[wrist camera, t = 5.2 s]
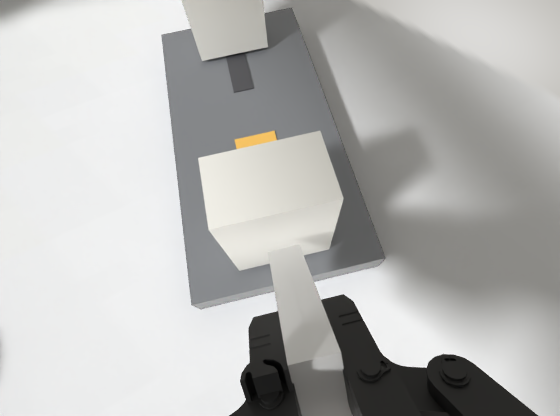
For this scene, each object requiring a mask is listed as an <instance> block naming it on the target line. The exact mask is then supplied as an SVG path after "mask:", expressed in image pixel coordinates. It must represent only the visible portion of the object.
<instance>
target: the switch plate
mask: <svg viewBox="0 0 560 416" xmlns="http://www.w3.org/2000/svg"><path fill="white" fill-rule="evenodd" d="M264 15H265V24H266V33H267V43H268V47H266V48H261V49H256V50H252V51H247V52H242V53H237V54H233V55H228V56H223V57H219V58H214V59H209V60H204V61H202V59H201V56H200V54H199V51H198V48H197V45H196V42H195V39H194V36H193V33H192V30H191V29H187V30H182V31H178V32H173V33H168V34H163V35H162V44H163V53H164V62H165V71H166V80H167V89H168V98H169V107H170V116H171V125H172V134H173V143H174V152H175V161H176V170H177V179H178V188H179V197H180V206H181V215H182V224H183V233H184V242H185V251H186V260H187V269H188V278H189V287H190V296H191V305H192V306H195V307H197V308H199V309H204V308H208V307H212V306H216V305H220V304H224V303H228V302H232V301H237V300H241V299H245V298H249V297H253V296H257V295H261V294H265V293H270V292H274V285H273V279H272V273H271V268H270V264H266V265H262V266H257V267H253V268H249V269H245V270H241V271H239V270H238V268H237V267H236V266H235V264H234V263H233V262H232V260H231V259H230V258H229V256H228V255H227V254H226V252H225V251H224V250H223V248H222V247H221V246H220V244H219V243H218V242H217V241H216V239H215V238H214V237H213V235H212V234H211V233H210V231H209V230H208V223H207V216H206V209H205V202H204V195H203V189H202V182H201V175H200V168H199V161H198V158H200V157H204V156H209V155H213V154H218V153H222V152H227V151H231V150H235V149H240V148H244V147H249V146H253V145H258V144H262V143H267V142H271V141H276V140H280V139H285V138H289V137H293V136H298V135H302V134H307V133H311V132H316V131H321V134H322V137H323V140H324V143H325V146H326V149H327V152H328V154H329V157H330V160H331V163H332V166H333V169H334V172H335V175H336V178H337V180H338V183H339V186H340V189H341V192H342V195H343V198H344V199H343V203H342V206H341V210H340V213H339V217H338V220H337V224H336V227H335V231H334V234H333V238H332V241H331V245H330V248H329V249H328V250H324V251H320V252H316V253H312V254H308V255H304V258H305V260H306V263H307V265H308V268H309V271H310V273H311V276H312V278H313V281H314V282H315V281H319V280H323V279H327V278H331V277H335V276H340V275H344V274H348V273H352V272H356V271H360V270H364V269H368V268H372V267H377V266H379V265H380V264H381V262H382V261H383V260H384V259H385V256H384V253H383V251H382V248H381V245H380V243H379V240H378V237H377V235H376V232H375V229H374V227H373V224H372V221H371V218H370V216H369V213H368V210H367V208H366V205H365V202H364V200H363V197H362V194H361V192H360V189H359V186H358V184H357V181H356V178H355V176H354V173H353V170H352V168H351V165H350V162H349V160H348V157H347V154H346V152H345V149H344V146H343V144H342V141H341V138H340V135H339V133H338V130H337V127H336V125H335V122H334V119H333V117H332V114H331V111H330V109H329V106H328V103H327V101H326V98H325V95H324V93H323V90H322V87H321V85H320V82H319V79H318V77H317V74H316V71H315V69H314V66H313V63H312V61H311V58H310V55H309V52H308V50H307V47H306V44H305V42H304V39H303V36H302V34H301V31H300V28H299V26H298V23H297V20H296V18H295V15H294V12H293V10H292V8H288V9H284V10H279V11H274V12H269V13H264Z"/></svg>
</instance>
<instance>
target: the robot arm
mask: <svg viewBox="0 0 560 416" xmlns="http://www.w3.org/2000/svg"><path fill="white" fill-rule="evenodd" d="M268 256H269V262H270V268H271V273H272V279H273V285H274V291H275V296H276V302H277V308H278V311H277V312H273V313H269V314H265V315H261V316H257V317H254V318H253V320H252V322H251V324H250V326H249V349H250V350H249V352H250V363H249V364H248V365H247V366H246V368H245V369H244V371H243V372H242V375H241V379H240V383H241V386H242V389H243V392H244V395H245V398H246V401H245V402H244V404H243V405H242V406H241V407H240V408H239V409H238V410H237V411H235V412H234V413H233V414H231V415H229V416H538V415H537V414H535V413H534V412H533V411H532V410H530V409H529V408H528V407H527V406H525V405H524V404H523V403H522V402H520V401H519V400H518V399H517V398H515V397H514V396H513V395H512V394H511V393H509V392H508V391H507V390H506V389H504V388H503V387H502V386H501V385H499V384H498V383H497V382H496V381H494V380H493V379H492V378H491V377H489V376H488V375H487V374H486V373H485V372H483V371H482V370H481V369H480V368H478V367H477V366H476V365H475V364H473V363H472V362H470V361H468V360H467V359H465V358H463V357H459V356H456V355H447V354H443V355H440V356H436V357H434V358H433V359H432V360H431V361H429V363H428V366H427V368H418V367H405V366H400V365H397V364H395V363H393V362H391V361H389V359H387V358H386V357H384V356H383V355H382V353H381V352H380V350H379V349H378V347H377V345H376V343H375V341H374V339H373V337H372V335H371V334H370V332H369V330H368V328H367V326H366V324H365V322H364V321H363V319H362V317H361V315H360V313H359V312H358V309H357V308H356V306H355V304H354V302H353V301H352V300H351V299H349V298H348V297H346V296H345V295H344V294H343V295H339V296H335V297H331V298H327V299H323V300H321V299H320V296H319V294H318V291H317V289H316V286H315V284H314V281H313V278H312V276H311V273H310V271H309V268H308V265H307V263H306V260H305V258H304V255H303V253H302V250H301V247H300V245H295V246H291V247H287V248H282V249H278V250H274V251H270V252H268Z"/></svg>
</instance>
